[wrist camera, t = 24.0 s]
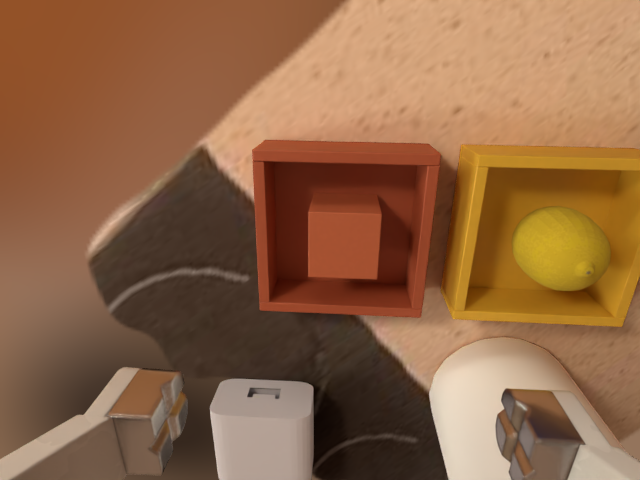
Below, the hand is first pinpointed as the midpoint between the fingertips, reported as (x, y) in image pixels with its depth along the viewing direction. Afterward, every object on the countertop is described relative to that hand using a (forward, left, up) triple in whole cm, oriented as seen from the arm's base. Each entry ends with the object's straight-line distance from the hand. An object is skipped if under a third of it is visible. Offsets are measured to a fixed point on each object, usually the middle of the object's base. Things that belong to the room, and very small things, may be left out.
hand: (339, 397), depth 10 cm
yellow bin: (+3, +15, -24) cm, 28 cm away
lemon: (+3, +15, -23) cm, 28 cm away
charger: (+28, -7, -24) cm, 37 cm away
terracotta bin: (+3, 0, -24) cm, 24 cm away
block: (+3, 0, -23) cm, 23 cm away
